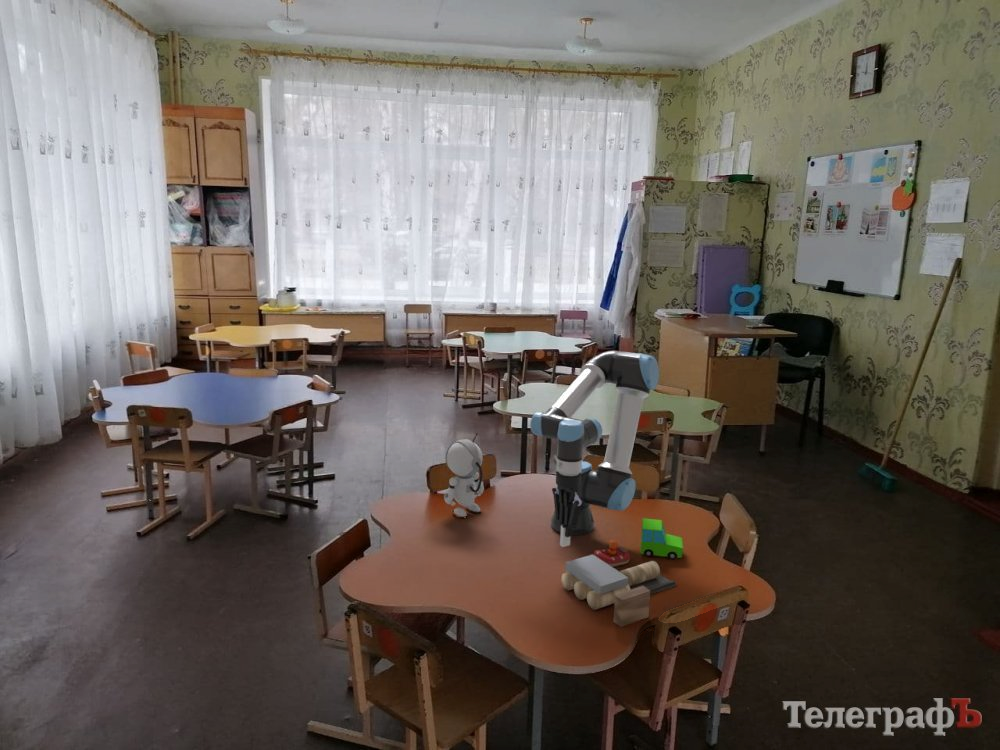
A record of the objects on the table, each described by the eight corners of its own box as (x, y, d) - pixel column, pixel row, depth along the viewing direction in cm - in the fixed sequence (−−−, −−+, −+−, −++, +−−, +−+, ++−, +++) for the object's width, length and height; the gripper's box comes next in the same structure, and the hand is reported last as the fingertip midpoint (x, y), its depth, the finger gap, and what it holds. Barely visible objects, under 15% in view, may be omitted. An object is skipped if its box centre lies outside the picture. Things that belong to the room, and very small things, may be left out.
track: (561, 585, 210) (562, 561, 208) (637, 561, 226) (638, 538, 224) (617, 628, 189) (619, 601, 187) (697, 598, 204) (699, 573, 203)
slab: (565, 569, 209) (566, 562, 209) (592, 561, 214) (592, 554, 214) (600, 594, 196) (600, 586, 195) (627, 585, 201) (628, 577, 201)
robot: (482, 506, 267) (484, 430, 262) (481, 519, 254) (482, 440, 249) (447, 505, 267) (447, 429, 262) (443, 518, 254) (443, 439, 249)
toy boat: (589, 560, 226) (590, 538, 225) (619, 554, 231) (620, 532, 229) (602, 571, 220) (603, 549, 218) (633, 564, 224) (634, 542, 223)
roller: (630, 589, 207) (629, 572, 207) (619, 585, 211) (618, 568, 211) (660, 579, 213) (659, 563, 213) (649, 575, 218) (648, 559, 217)
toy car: (682, 563, 226) (685, 534, 223) (640, 558, 228) (642, 530, 226) (681, 548, 235) (683, 521, 233) (640, 544, 238) (642, 517, 236)
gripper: (545, 467, 215) (542, 539, 220) (571, 480, 204) (567, 556, 209) (565, 463, 219) (562, 534, 224) (592, 476, 208) (587, 551, 213)
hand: (564, 545), depth 216 cm, fingers closed
